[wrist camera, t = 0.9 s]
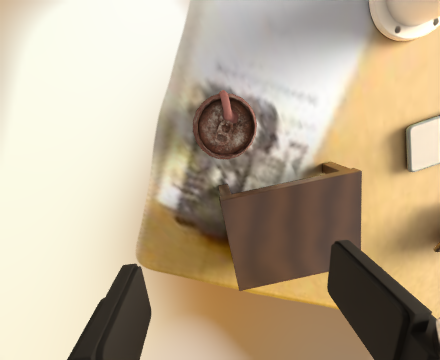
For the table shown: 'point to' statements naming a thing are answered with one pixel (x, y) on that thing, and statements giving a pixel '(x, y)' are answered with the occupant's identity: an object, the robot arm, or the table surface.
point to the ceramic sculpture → (437, 248)
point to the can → (224, 126)
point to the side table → (291, 225)
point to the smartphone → (423, 144)
